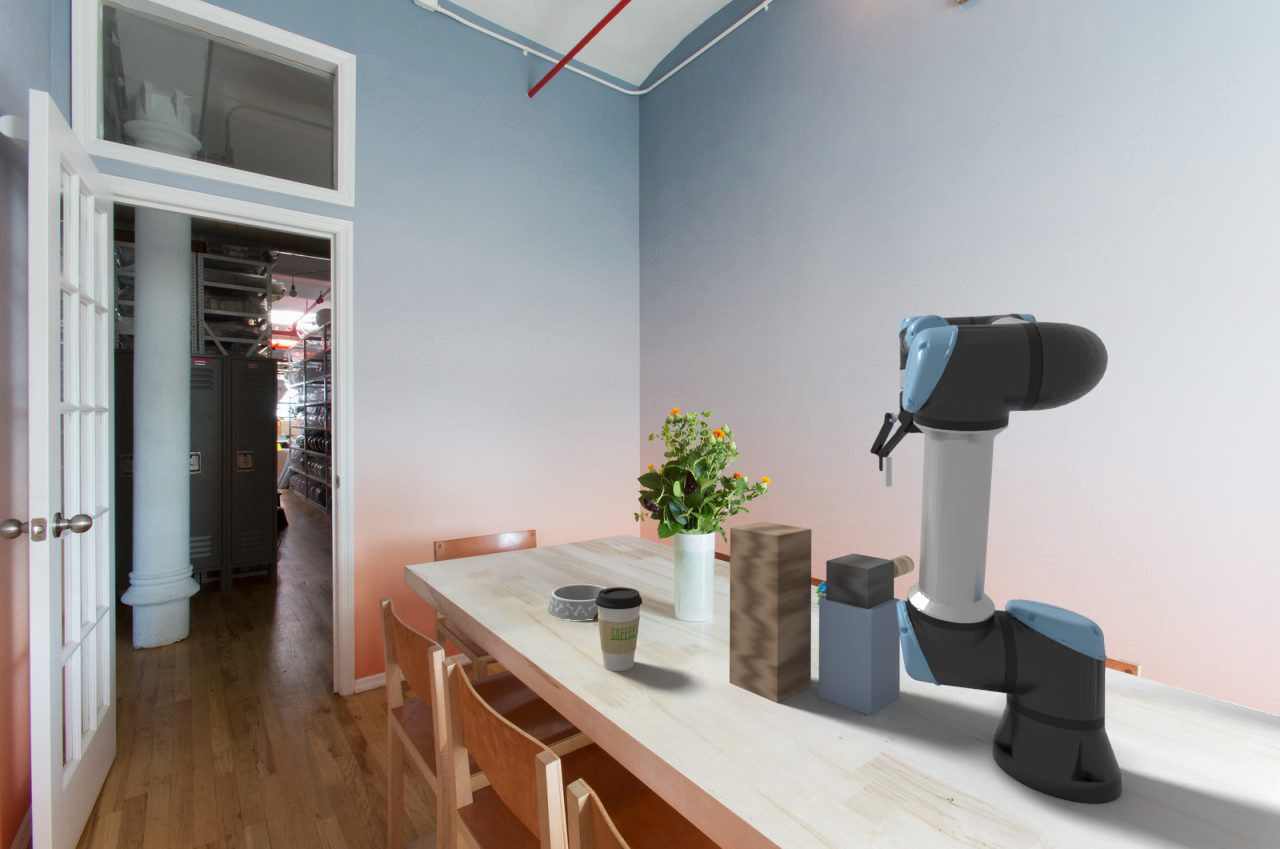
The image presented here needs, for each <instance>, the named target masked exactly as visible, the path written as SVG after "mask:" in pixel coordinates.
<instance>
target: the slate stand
mask: <svg viewBox="0 0 1280 849" xmlns="http://www.w3.org/2000/svg"><path fill="white" fill-rule="evenodd" d="M818 599H819V604H818V697H819V696H820V698H822V699H826V700H828V701H829V702H832V703H835V704H838V705H840V706H843V707H845V708H848V709H851V710H853V711H855V712H858V713H861V714H862V715H863V714H864V715H866V716H869V717H873V716H874V715H875V714H878V712H880V711H882V710H883V709H885V708H887V706H889V705H890V704H892V703H893V702H895V701H896V700H898V699H899V698H900V696H901V694H900V691H901V690H900V686H901V684H900V683H901V682H900V680H901V678H900V676H901V675H900V672H901V670H900V666H901V664H900V663H901V662H900V661H901V657H900V656H901V652H900V650H901V648H900V646H901V639H900V632H899V625H898V617H897V605H896V603H897V602H898V601H901V599H900V598H895V597H894V599H891V600H889V601H886V602H884V603H882V604H879V605H877V606H874V607H872V608H870V609H865V608H861V607H857V606H853V605H849V604H845V603H841V602H837V601H832V600H828V599H826V596H825V597H822V598H819V597H818Z"/></svg>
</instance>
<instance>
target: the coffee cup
mask: <svg viewBox="0 0 1280 849" xmlns="http://www.w3.org/2000/svg"><path fill="white" fill-rule="evenodd" d="M606 588H607V589H603V590H601V591H599V594H598V597H597V598H596V601H595V603H596V605H598V614H597V622H598V629H599V630H598V632H599V641H600V649H601V652H602V662H603V664H602V665H603V667H604V669H606V670H608V671H611V672H612V671H613V672H625V671H628V670H630V669H632V668H633V667H634V662H635V655H636V649H637V644H638V634H639V627H640V626H639V625H640V610H641V605H643V598H642V596H641V594H640V592H639V591H638V590H637V589H634V588H632V587H621V586H618V587H617V586H616V587H615V586H614V587H606Z"/></svg>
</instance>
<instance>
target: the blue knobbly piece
mask: <svg viewBox="0 0 1280 849" xmlns="http://www.w3.org/2000/svg"><path fill="white" fill-rule="evenodd" d="M815 593H816V594H817V597H818V599H817V602H816V605H819V598H822V597H825V596H826V582H825V581H824V580H823V581H821V584H818V587H816V590H815Z"/></svg>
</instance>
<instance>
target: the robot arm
mask: <svg viewBox="0 0 1280 849" xmlns="http://www.w3.org/2000/svg"><path fill="white" fill-rule="evenodd" d="M898 338H899V386H898V387H899V388H900V389H901V391H900V392H899V413H894V412H885V414H884V419H883V424H882V426H881V428H880V429H879V432H878V435H877V436H876V438H875V440H874V442H873V444H872V446H871V449H870V453H871V454H873V455H876V456H877V457H878V465H879V466H878V470H879V472H882V487H883V488H887V487H892V486H893V483H892V476H893V473H892V472H893V470H892V469H893V468H892V466H893V457H892V456H890V454H891V453H892V451H894V449H895V448H896V447H897V446H898V444H900V442H902V440H903V439H904V438H905V436H907V435H908V434H918V433H919V434H924V435H923V436H924V439H923V463H922V464H923V467H922V468H923V469H922V487H921V488H922V494H921V518H920V520H921V521H920V543H919V546H920V548H919V565H918V566H919V569H918V570H919V571H918V582H917V583H915V584H913V585H911V586H910V587H909V589H908V591H907V595H906V596H907V597H906V598H907V600H905V599H904V600H900V601H898V602H897V603H896V605H897V617H898V625H899V632H900V646H901V652H902V658H903V664H904V665H903V666H904V670H905V671H906V674H907V675H908V677H910V678H911V679H912V680H915V681H918V682H924V683H929V684H933V685H935V686H938V687H940V686H949V687H955V688H963V689H970V690H971V689H972V690H977V691H987V692H994V693H999V694H1000V693H1001V694H1006V698H1005V700H1006V705H1005V708H1004V710H1003V713H1002V714H1001V717H1000V719H999V722H998V724H997V727H996V729H995V732H994V734H993V737H992V756H993V757H992V758H993V760H994V762H995V763H996V764H997V765H998V767H999V768H1000V769H1001V770H1002V771H1004V772H1005V773H1006V774H1007V775H1009V776H1011V778H1013V779H1015V780H1017V781H1019V782H1021V783H1022V784H1024V785H1026V786H1028V787H1030V788H1032V789H1035V790H1037V791H1040V792H1042V793H1044V794H1048V795H1050V796H1054V797H1057V798H1061V799H1066V800H1069V801H1076V802H1080V803H1081V802H1082V803H1094V804H1095V803H1096V804H1097V803H1098V804H1099V803H1106V802H1111V801H1113V800H1117V798H1119V796H1121V795H1122V788H1123V787H1122V772H1121V768H1120V765H1119V763H1118V761H1117V758H1116V755H1115V753H1114V750H1113V747H1112V743H1111V741H1110V739H1109V736H1108V734H1107V730H1106V661H1107V659H1108V657H1107V655H1106V647H1105V635H1104V632H1103V629H1102V628H1101V627H1100V626H1099V624H1097V623H1096V622H1095V621H1093V620H1092V619H1091V618H1089V617H1086V616H1085V615H1082V614H1080V613H1077V612H1076V611H1073V610H1070V609H1066V608H1063V607H1061V606H1057V605H1053V604H1048V603H1044V602H1042V601H1035V600H1029V599H1021V598H1020V599H1013V598H1012V599H1010V600H1008V601H1007V602H1006V604H1005V605H1004V610H1000V609H998V610H997V609H996V605H995V603H994V601H993V600H992V599H991V597H990V596H988V595H987V593H985V582H986V564H987V553H988V552H987V550H988V549H987V548H988V537H989V521H990V519H989V518H990V508H991V507H990V506H991V490H992V477H993V476H992V474H993V460H994V448H995V446H994V443H995V438H996V437H997V436H998V435H999V434H1001V433H1002V432H1003V431H1005V430H1007V428H1008V427H1009V423H1010V422H1009V418H1010V412H1019V411H1020V412H1029V411H1032V412H1033V411H1037V412H1039V411H1045V410H1052V409H1056V408H1060V407H1062V406H1067V405H1068V404H1071V403H1073V402H1076V401H1077V400H1080V399H1081V398H1083V397H1084V396H1086V395H1087V394H1088V393H1091V392H1092V391H1093V390H1094V389H1095V388H1096V387H1097V386H1098V384H1099V383H1100V381H1101V380H1102V379H1103V378H1104V375H1105V372H1106V371H1107V367H1108V361H1109V360H1108V359H1109V357H1108V351H1107V348H1106V346H1105V344H1104V342H1103V341H1102V339H1101V338H1100V337H1099V336H1098V335H1097V334H1096V333H1095V332H1093V331H1092V330H1090V329H1088V328H1086V327H1084V326H1080V325H1077V324H1076V325H1075V324H1071V323H1066V322H1051V321H1049V322H1048V321H1037V319H1036V317H1035V316H1034V315H1033V314H1031V313H1029V314H1028V313H1009V314H993V315H991V314H990V315H977V316H954V317H952V316H950V317H941V316H939V315H936V314H925V315H916V316H910V317H906V318H904V319H902V320H901V321H900V325H899V333H898ZM897 420H898V421H899V422H900V425H899V426H898V427H897V429H896V431H895V433H894V434H893V435H892V436H891V437H890V439H889V440H888V441H887V439H888V437H889V436H890V433H891V432H892V429H893V427H894V424H895V423H897ZM886 441H887V442H886Z"/></svg>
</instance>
